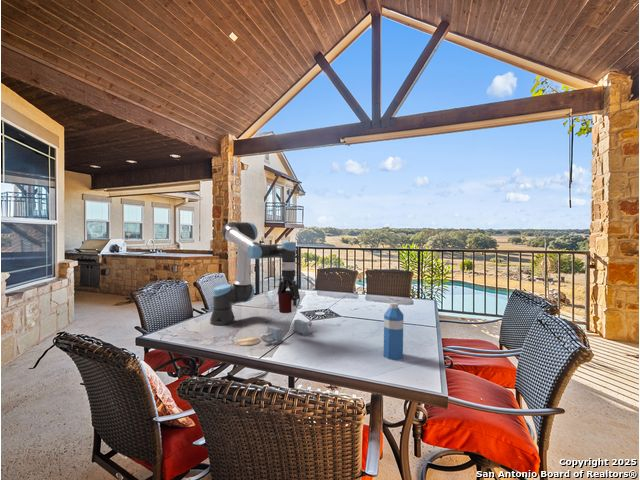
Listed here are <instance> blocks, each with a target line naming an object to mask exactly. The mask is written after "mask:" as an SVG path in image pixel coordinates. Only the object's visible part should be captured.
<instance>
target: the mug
mask: <svg viewBox="0 0 640 480" xmlns="http://www.w3.org/2000/svg"><path fill="white" fill-rule="evenodd" d="M277 296H278V297H277V298H278V310H279V311H278V312H279V313H281V314H291V313H292V312H291V303H292V295H291V292H290V289H289V290H288V289H286V291H285V292H284V293H281V291H279V292H278V291H277ZM299 297H300V299H298V300H297V305H296V309H297V308H298V306H299V304H300V300H301V296H300V294H299Z"/></svg>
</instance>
